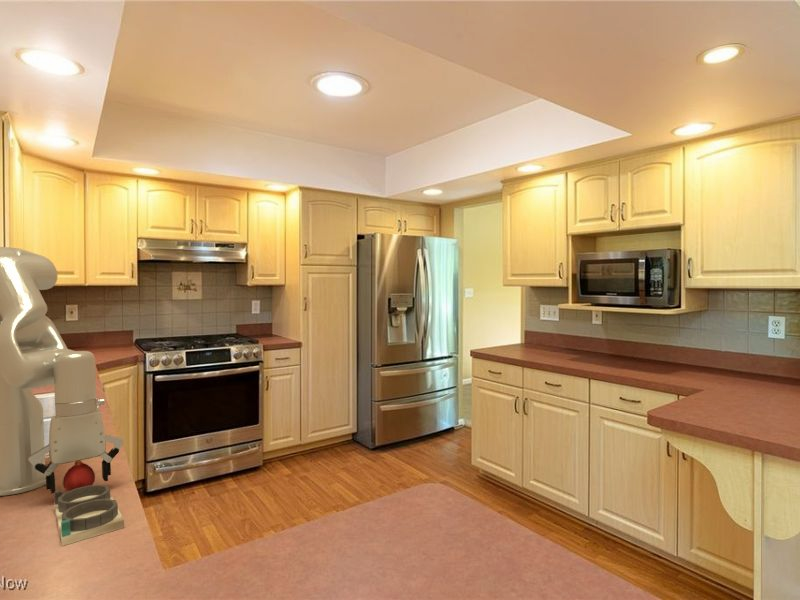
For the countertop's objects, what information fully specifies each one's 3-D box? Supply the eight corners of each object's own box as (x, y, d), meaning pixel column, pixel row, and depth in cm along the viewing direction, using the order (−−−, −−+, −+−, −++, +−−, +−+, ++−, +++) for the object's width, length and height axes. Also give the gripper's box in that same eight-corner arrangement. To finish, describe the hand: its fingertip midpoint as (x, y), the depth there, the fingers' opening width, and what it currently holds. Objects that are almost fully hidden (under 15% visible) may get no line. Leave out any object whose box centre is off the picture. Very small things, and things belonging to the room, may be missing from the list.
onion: (68, 493, 106) (67, 457, 106) (98, 488, 108) (96, 453, 108) (60, 503, 101) (58, 466, 101) (91, 498, 103) (90, 462, 103)
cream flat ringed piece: (54, 510, 98) (53, 491, 98) (108, 496, 104) (108, 478, 104) (61, 546, 84) (61, 524, 84) (124, 527, 90) (123, 507, 90)
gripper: (118, 398, 113) (121, 470, 113) (25, 412, 102) (29, 491, 102) (124, 404, 107) (127, 479, 107) (26, 418, 96) (30, 503, 96)
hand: (79, 485), depth 105 cm, fingers open, 9 cm apart
